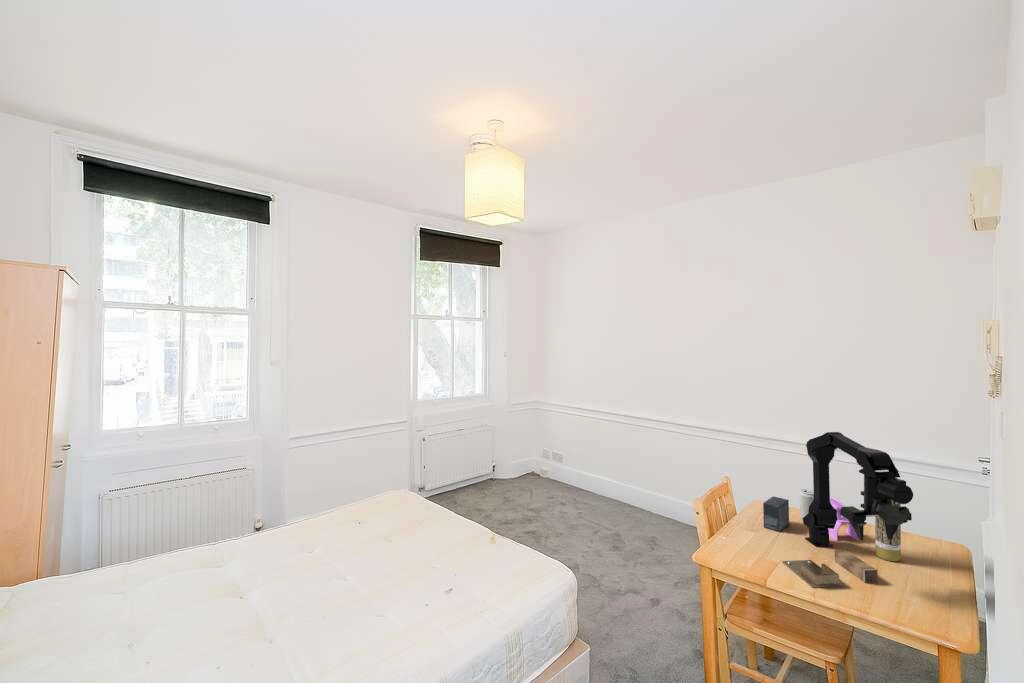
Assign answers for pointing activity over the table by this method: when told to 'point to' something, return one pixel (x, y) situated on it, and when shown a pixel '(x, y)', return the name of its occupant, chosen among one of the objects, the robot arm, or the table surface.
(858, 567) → the walnut rail
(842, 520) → the toy chair
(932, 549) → the table surface
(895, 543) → the log-patterned cylinder
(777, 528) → the small box
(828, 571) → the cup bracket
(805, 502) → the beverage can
